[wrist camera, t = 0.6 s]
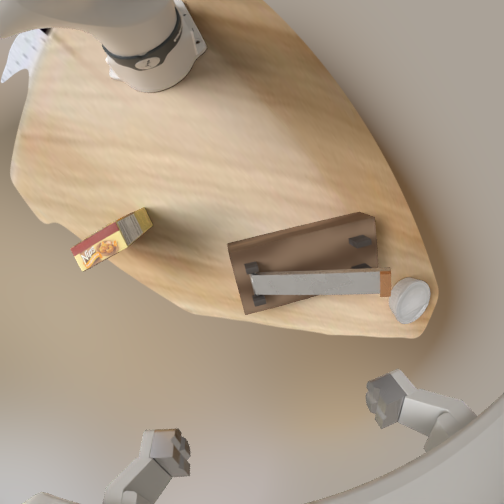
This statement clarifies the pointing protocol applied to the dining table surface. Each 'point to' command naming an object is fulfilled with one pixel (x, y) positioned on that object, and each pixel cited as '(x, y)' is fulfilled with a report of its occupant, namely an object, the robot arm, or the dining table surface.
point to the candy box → (111, 239)
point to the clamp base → (303, 254)
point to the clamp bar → (323, 282)
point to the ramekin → (409, 299)
